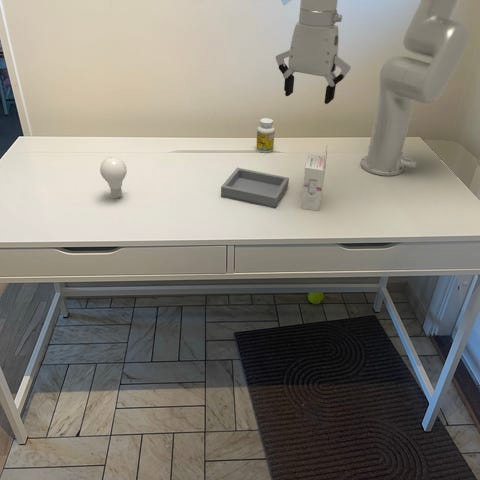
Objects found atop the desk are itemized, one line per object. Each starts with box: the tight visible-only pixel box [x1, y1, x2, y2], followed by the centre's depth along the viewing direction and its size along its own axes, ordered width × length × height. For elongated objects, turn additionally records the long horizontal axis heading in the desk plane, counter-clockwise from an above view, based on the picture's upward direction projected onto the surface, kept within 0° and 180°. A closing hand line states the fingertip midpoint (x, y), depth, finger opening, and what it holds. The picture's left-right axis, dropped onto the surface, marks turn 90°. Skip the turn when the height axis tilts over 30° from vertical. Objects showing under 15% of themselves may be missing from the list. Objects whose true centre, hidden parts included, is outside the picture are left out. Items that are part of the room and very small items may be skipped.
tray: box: [220, 167, 290, 209], centre depth 126 cm, size 15×12×3 cm
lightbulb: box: [99, 156, 128, 199], centre depth 119 cm, size 6×6×11 cm
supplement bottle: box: [256, 117, 276, 154], centre depth 147 cm, size 5×5×10 cm
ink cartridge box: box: [300, 145, 328, 211], centre depth 119 cm, size 9×5×15 cm, turn 168°
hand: (308, 98), depth 109 cm, fingers open, 9 cm apart
